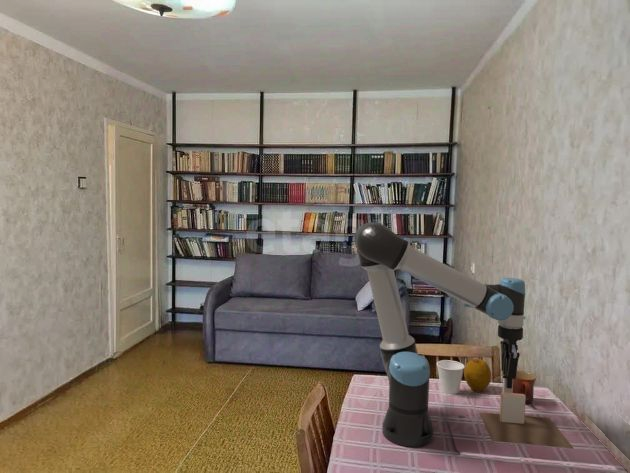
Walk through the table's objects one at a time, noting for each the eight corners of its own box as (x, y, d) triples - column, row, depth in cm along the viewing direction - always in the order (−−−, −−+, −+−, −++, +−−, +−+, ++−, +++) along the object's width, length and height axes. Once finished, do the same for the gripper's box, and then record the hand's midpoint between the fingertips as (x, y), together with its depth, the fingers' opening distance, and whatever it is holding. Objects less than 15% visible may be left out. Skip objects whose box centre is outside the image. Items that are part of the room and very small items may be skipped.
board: (492, 444, 127) (492, 440, 127) (478, 415, 145) (478, 412, 145) (573, 452, 124) (573, 448, 124) (549, 421, 142) (549, 418, 142)
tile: (501, 422, 138) (502, 394, 138) (499, 419, 140) (500, 392, 139) (524, 424, 137) (525, 396, 137) (522, 421, 139) (524, 394, 138)
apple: (471, 382, 173) (472, 353, 172) (495, 390, 166) (496, 359, 165) (458, 388, 166) (459, 358, 166) (483, 397, 159) (484, 365, 158)
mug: (505, 396, 160) (506, 369, 159) (531, 399, 158) (532, 371, 158) (513, 411, 148) (514, 382, 148) (541, 414, 147) (542, 384, 146)
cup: (431, 388, 166) (432, 360, 165) (456, 387, 167) (457, 359, 166) (441, 400, 156) (442, 370, 156) (468, 399, 157) (469, 369, 157)
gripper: (529, 332, 135) (525, 406, 137) (516, 321, 148) (513, 389, 150) (504, 330, 137) (500, 404, 138) (493, 320, 149) (490, 387, 151)
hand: (507, 396), depth 144 cm, fingers closed
